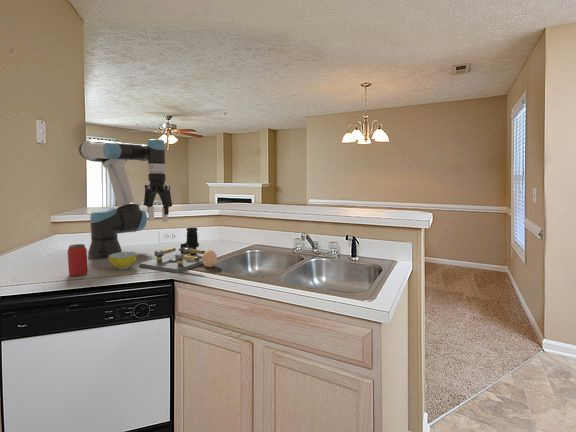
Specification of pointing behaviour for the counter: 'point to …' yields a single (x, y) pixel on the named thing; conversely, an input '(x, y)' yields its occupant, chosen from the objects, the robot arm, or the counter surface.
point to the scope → (190, 240)
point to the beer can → (77, 260)
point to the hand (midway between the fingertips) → (158, 220)
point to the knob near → (162, 253)
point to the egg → (209, 258)
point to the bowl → (122, 259)
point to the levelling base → (170, 264)
